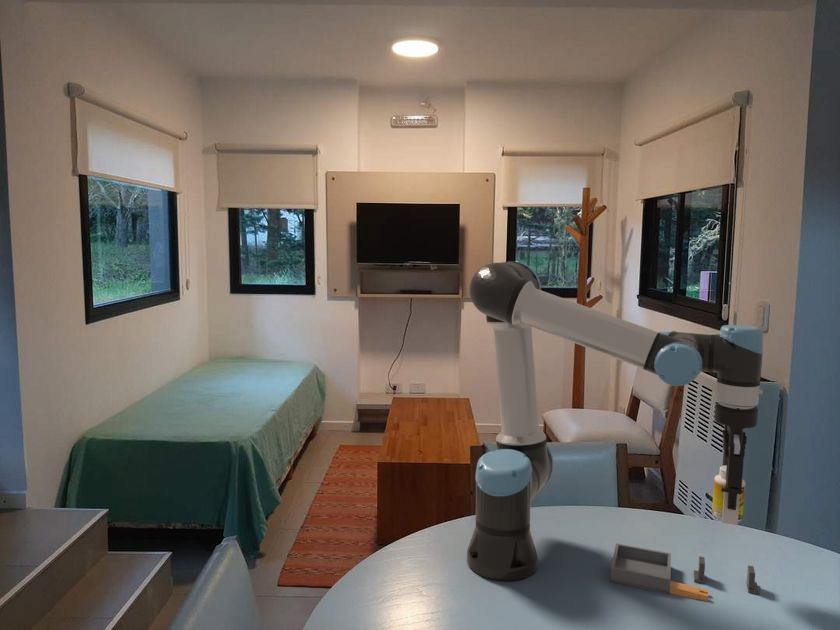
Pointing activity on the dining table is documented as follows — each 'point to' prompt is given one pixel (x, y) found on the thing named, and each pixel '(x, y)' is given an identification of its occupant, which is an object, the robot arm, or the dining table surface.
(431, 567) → the dining table surface
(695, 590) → the fuse puller tool
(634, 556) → the parts tray
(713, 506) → the supplement bottle
